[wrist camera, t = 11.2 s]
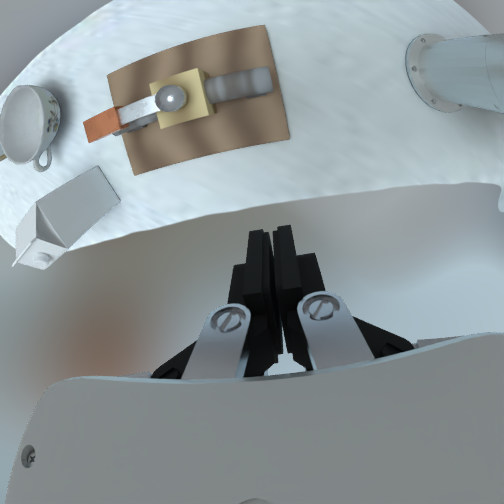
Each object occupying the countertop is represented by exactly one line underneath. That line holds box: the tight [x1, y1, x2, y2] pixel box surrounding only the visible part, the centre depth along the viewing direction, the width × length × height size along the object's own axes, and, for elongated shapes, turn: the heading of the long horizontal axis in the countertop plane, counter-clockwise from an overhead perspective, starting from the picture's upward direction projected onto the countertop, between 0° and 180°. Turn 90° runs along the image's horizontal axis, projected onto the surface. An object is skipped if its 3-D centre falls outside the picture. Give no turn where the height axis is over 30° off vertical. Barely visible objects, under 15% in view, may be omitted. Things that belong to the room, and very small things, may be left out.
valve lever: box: [83, 85, 187, 143], centre depth 23 cm, size 12×3×2 cm, turn 102°
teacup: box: [0, 85, 61, 172], centre depth 28 cm, size 15×12×8 cm
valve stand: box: [107, 25, 290, 176], centre depth 27 cm, size 22×16×8 cm
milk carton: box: [12, 166, 120, 270], centre depth 30 cm, size 7×7×19 cm
